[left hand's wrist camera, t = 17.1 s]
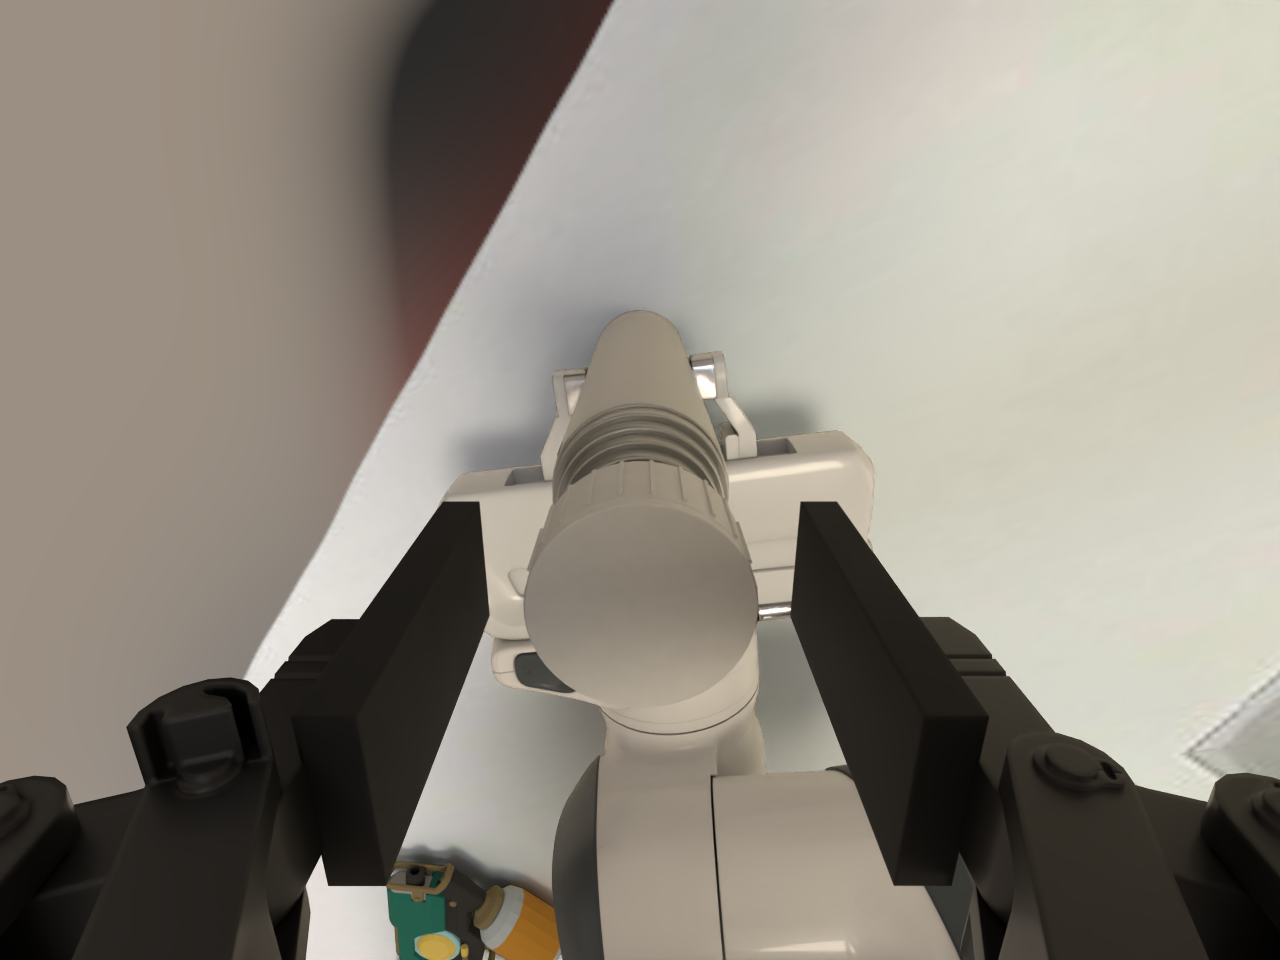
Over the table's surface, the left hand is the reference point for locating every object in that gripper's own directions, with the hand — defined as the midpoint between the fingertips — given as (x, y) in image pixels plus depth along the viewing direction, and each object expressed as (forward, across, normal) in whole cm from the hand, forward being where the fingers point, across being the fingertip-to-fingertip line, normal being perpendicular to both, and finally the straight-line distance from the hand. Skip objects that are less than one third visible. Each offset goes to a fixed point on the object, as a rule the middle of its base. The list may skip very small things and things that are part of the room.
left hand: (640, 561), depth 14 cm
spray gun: (+24, +13, +44) cm, 52 cm away
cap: (-2, 0, 0) cm, 2 cm away
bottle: (+24, 0, 0) cm, 24 cm away
